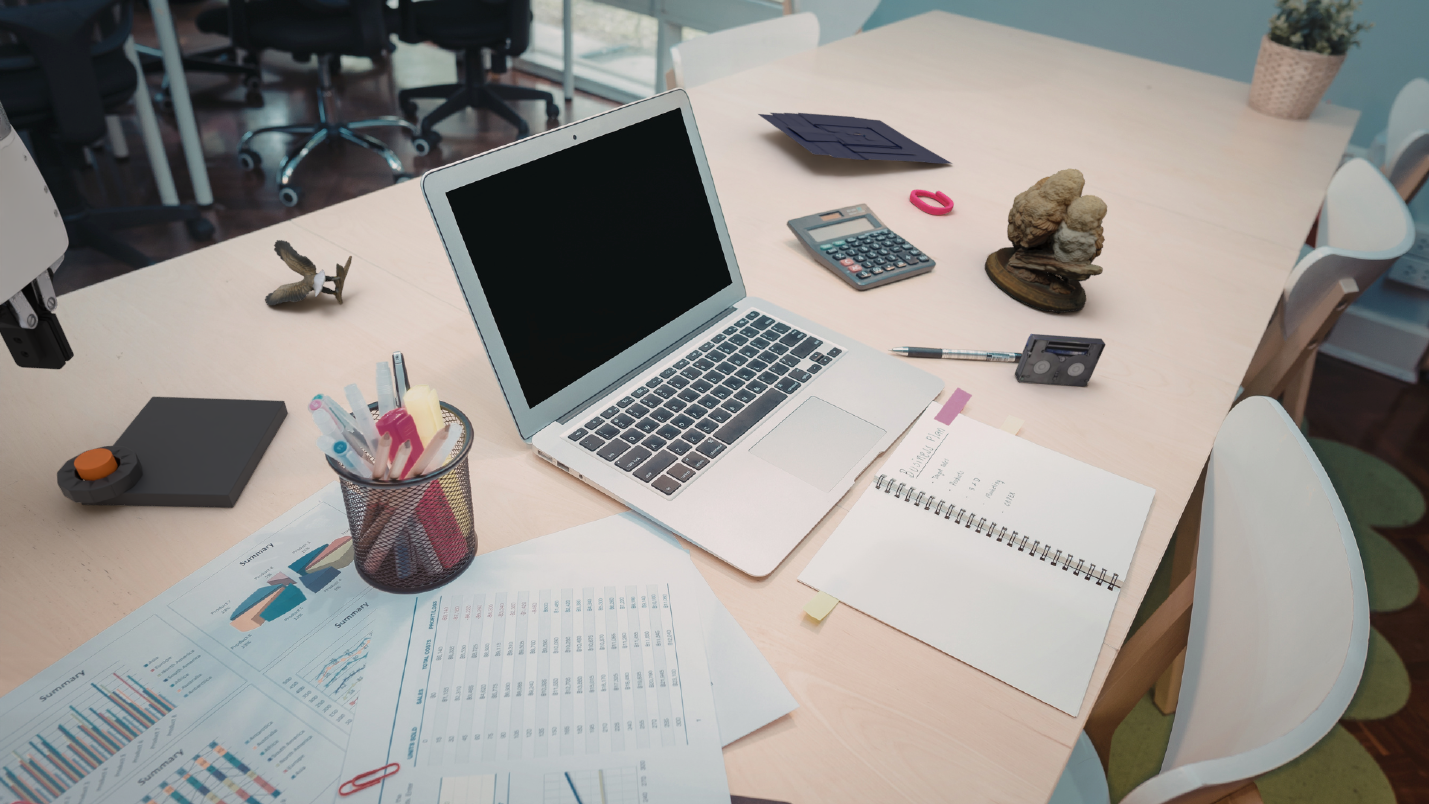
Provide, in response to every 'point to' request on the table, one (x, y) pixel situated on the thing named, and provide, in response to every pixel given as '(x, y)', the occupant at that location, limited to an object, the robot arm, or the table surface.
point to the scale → (182, 454)
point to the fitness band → (937, 196)
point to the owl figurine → (1051, 244)
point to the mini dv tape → (1059, 360)
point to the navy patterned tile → (850, 137)
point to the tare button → (95, 464)
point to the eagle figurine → (305, 277)
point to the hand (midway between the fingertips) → (46, 361)
